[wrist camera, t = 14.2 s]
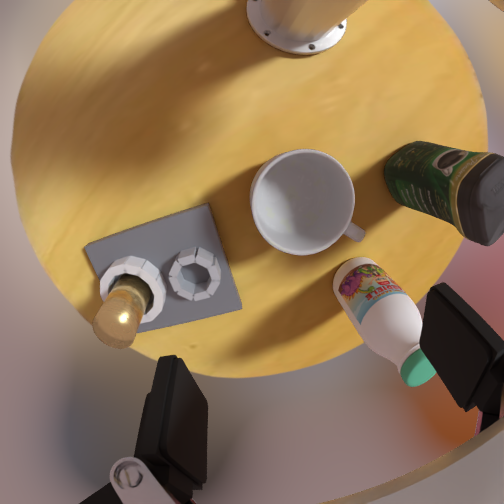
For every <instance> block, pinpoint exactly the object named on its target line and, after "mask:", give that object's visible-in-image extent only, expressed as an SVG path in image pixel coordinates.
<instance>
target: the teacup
mask: <svg viewBox="0 0 504 504" xmlns="http://www.w3.org/2000/svg"><path fill="white" fill-rule="evenodd" d="M354 205H355V194H354V188H353V184H352V181H351V179H350V177H349V175H348V173H347V172H346V170H345V169H344V167H343V166H342V165H341V164H340V163H339V162H338V161H337V160H336V159H334V158H333V157H332V156H330V155H328V154H326V153H323V152H320V151H317V150H312V149H299V150H293V151H290V152H285V153H282V154H279V155H277V156H274V157H273V158H271V159H270V160H268V161H267V162H266V163H265V164H263V165H262V166H261V168H260V169H259V170H258V172H257V173H256V175H255V177H254V179H253V182H252V185H251V189H250V206H251V210H252V215H253V219H254V222H255V225H256V227H257V229H258V231H259V232H260V234H261V235H262V237H263V238H264V239H265V240H266V241H267V242H268V243H269V244H270V245H272V246H273V247H275V248H276V249H278V250H280V251H282V252H284V253H289V254H293V255H309V254H315V253H318V252H320V251H323V250H324V249H327V248H328V247H330V246H331V245H332V244H333V243H335V242H336V241H337V240H338V239H339V238H340V237H341V235H342V234H345V235H346V236H348V237H349V238H351V239H353V240H354V241H356V242H361V241H362V240H363V238H364V236H365V231H364V230H363V229H362V228H360V227H359V226H357V225H356V224H354V223H352V222H351V218H352V215H353V210H354Z"/></svg>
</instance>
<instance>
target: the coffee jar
mask: <svg viewBox="0 0 504 504" xmlns="http://www.w3.org/2000/svg"><path fill="white" fill-rule="evenodd" d="M384 176H385V181H386V184H387V186H388V189H389V191H390V193H391V195H392V196H393V198H394V199H395V201H396V202H398V203H399V204H401V205H403V206H406V207H408V208H411V209H414V210H417V211H420V212H423V213H426V214H429V215H432V216H434V217H436V218H439V219H441V220H444V221H446V222H448V223H450V224H452V225H453V226H455V227H456V228H457V230H458V231H459V232H460V234H461V235H462V236H464V237H465V238H466V239H469V240H471V241H474V242H476V243H479V244H481V245H484V246H490V245H492V244H493V243H495V242H496V241H497V240H498V238H499V237H500V236H501V235H502V234H503V233H504V157H503V156H500V155H498V154H495V153H488V152H470V151H465V150H460V149H456V148H451V147H446V146H442V145H438V144H434V143H429V142H423V141H415V142H413V143H411V144H409V145H407V146H405V147H404V148H402V149H401V150H399V151H398V152H397V153H395V154H394V155H393V156H392V157H391V158H390V159H389V160H388V161H387V163H386V165H385V170H384Z"/></svg>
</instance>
